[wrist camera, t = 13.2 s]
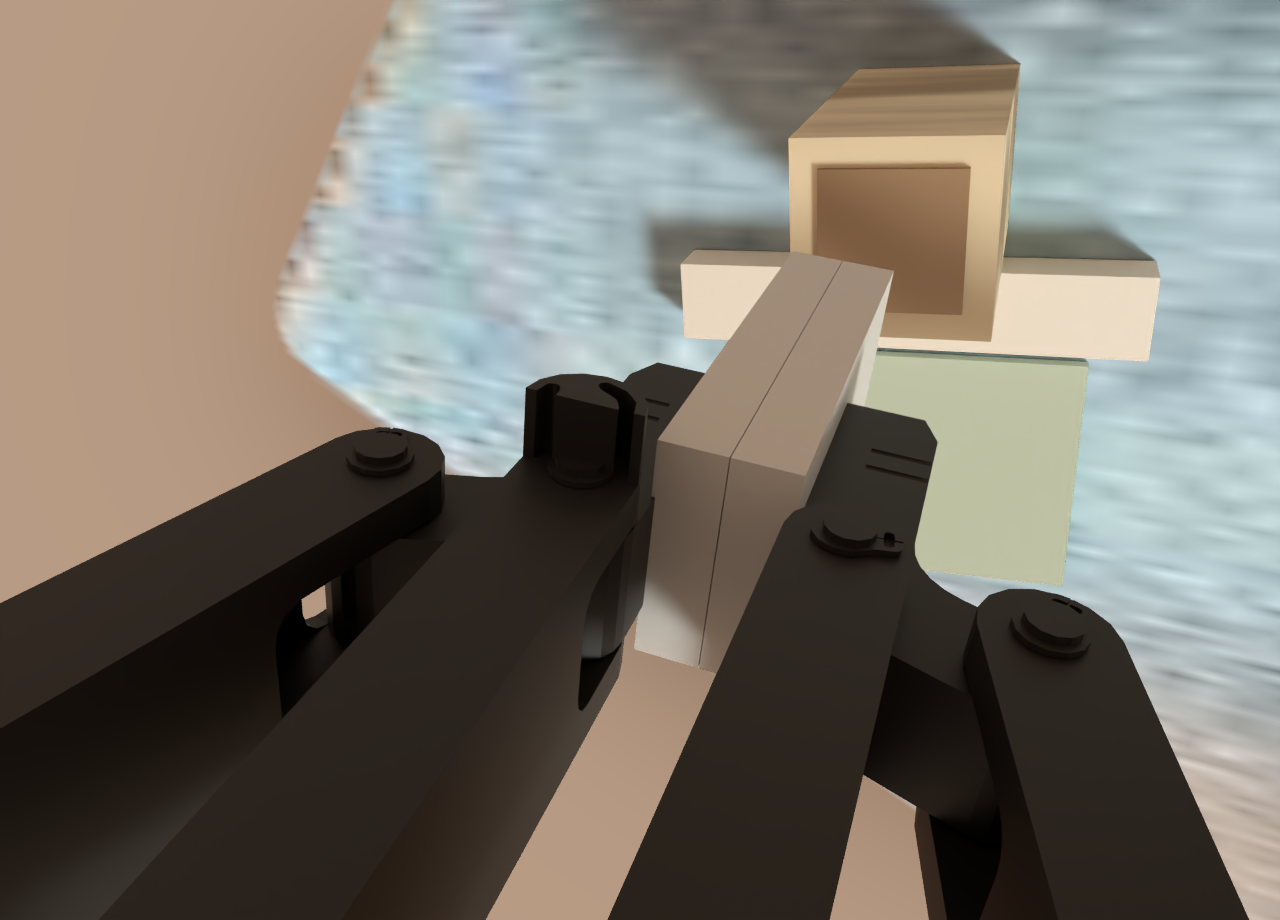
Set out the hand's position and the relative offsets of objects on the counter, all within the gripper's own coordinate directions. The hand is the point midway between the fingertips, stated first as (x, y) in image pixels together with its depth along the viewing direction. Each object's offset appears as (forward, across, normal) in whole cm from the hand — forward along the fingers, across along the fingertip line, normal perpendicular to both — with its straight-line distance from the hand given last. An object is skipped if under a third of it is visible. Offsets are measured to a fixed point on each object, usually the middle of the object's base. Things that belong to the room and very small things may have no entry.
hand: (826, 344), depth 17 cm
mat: (+18, +1, -11) cm, 21 cm away
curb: (+18, 0, -5) cm, 19 cm away
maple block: (+18, 0, -1) cm, 18 cm away
